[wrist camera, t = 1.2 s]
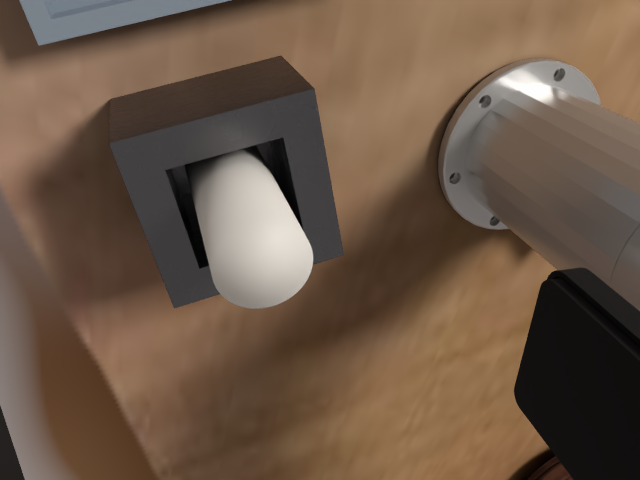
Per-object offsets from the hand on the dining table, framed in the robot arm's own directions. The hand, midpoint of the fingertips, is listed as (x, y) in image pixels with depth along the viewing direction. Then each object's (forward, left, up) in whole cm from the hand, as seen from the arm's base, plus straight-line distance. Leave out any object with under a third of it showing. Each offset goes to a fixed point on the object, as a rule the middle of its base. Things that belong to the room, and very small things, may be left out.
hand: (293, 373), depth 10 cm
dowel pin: (-6, +3, -26) cm, 27 cm away
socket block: (-6, +3, -27) cm, 28 cm away
